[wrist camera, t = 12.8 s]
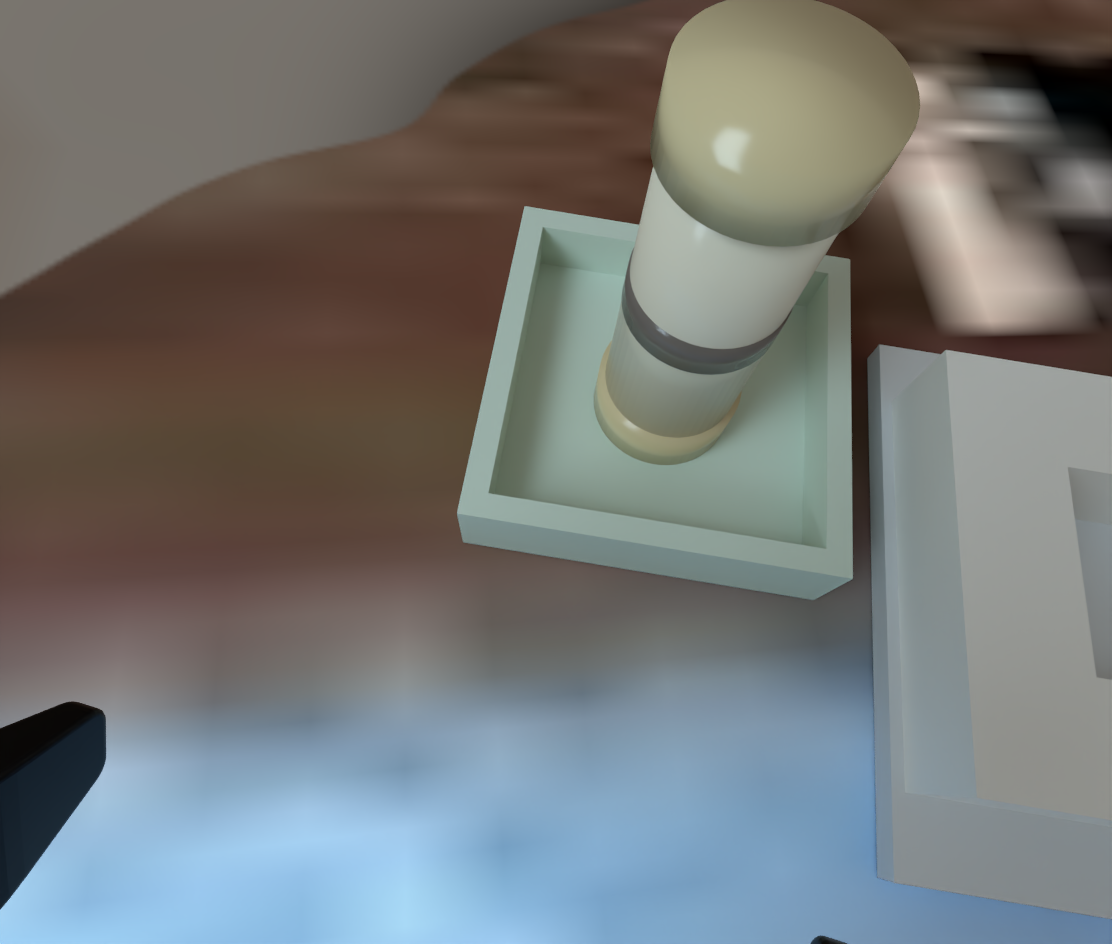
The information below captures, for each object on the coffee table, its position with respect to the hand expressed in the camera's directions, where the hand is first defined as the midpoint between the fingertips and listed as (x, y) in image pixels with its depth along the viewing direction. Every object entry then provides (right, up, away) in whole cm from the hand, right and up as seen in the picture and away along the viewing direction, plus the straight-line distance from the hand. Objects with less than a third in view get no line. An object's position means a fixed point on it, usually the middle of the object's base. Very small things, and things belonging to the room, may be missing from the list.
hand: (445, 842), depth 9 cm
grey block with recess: (+19, 0, +16) cm, 25 cm away
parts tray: (+5, +7, +18) cm, 20 cm away
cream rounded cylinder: (+5, +7, +17) cm, 19 cm away
